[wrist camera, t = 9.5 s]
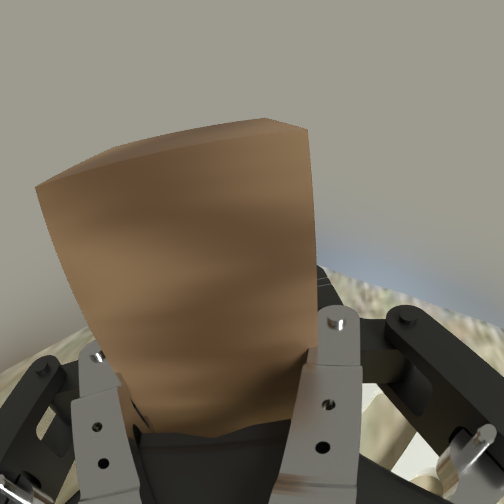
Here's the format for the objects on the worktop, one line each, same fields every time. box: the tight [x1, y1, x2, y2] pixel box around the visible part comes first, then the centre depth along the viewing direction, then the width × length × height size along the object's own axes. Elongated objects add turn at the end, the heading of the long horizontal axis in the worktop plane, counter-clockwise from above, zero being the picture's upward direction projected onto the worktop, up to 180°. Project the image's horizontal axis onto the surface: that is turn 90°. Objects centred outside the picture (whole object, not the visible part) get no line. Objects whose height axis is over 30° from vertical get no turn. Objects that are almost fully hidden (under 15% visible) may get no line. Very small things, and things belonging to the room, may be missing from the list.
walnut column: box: [35, 118, 318, 438], centre depth 10 cm, size 5×5×15 cm
